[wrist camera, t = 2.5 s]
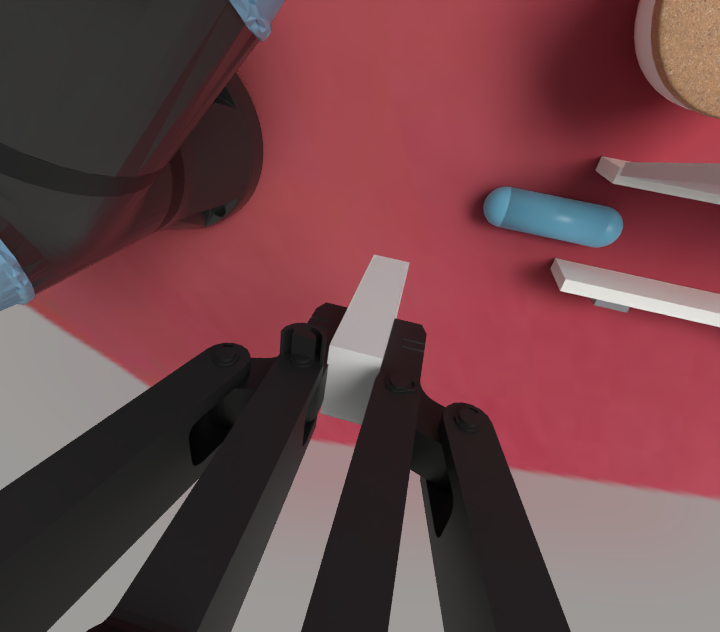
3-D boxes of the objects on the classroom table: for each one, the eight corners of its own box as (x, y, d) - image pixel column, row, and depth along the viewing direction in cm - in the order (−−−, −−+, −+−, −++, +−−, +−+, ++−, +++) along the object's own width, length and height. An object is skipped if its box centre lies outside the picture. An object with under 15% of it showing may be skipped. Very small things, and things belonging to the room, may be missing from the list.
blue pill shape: (477, 215, 32) (478, 227, 30) (489, 178, 31) (491, 188, 28) (604, 242, 31) (616, 257, 29) (623, 205, 30) (638, 218, 27)
